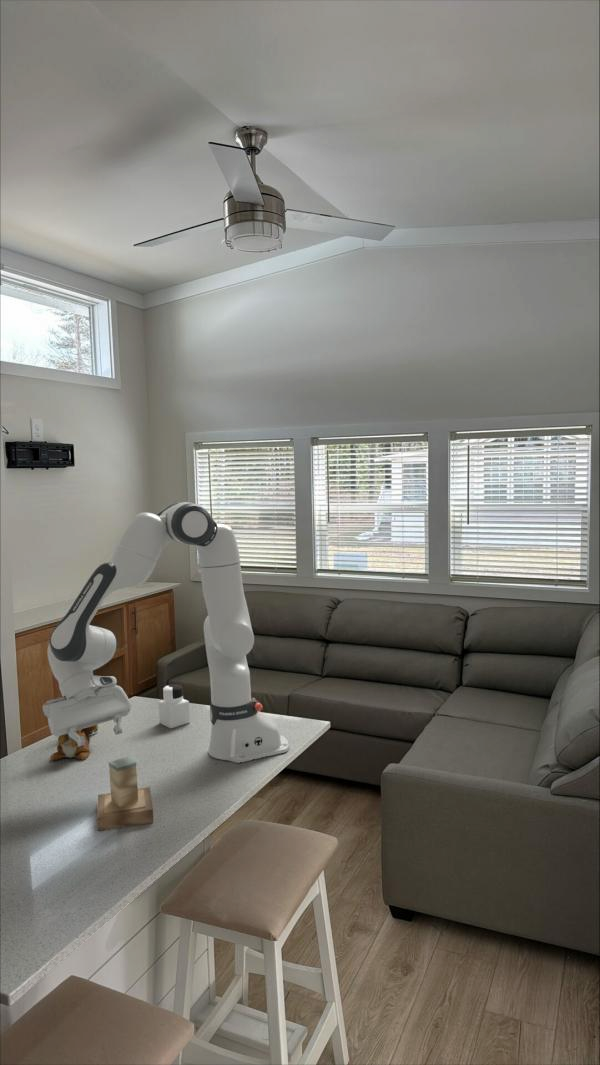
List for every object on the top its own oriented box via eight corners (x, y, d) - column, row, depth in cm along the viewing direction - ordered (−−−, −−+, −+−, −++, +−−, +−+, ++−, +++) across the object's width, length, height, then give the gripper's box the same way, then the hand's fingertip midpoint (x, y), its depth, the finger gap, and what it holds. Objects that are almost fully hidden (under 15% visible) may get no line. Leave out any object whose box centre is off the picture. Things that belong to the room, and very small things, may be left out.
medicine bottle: (179, 717, 228) (177, 681, 227) (190, 723, 222) (188, 685, 221) (159, 723, 223) (157, 686, 222) (170, 728, 218) (168, 690, 217)
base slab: (150, 799, 170) (149, 786, 170) (153, 822, 158) (152, 808, 158) (99, 807, 167) (98, 793, 167) (97, 831, 155) (96, 816, 155)
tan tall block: (129, 794, 166) (127, 756, 165) (138, 800, 162) (136, 762, 161) (111, 800, 163) (108, 762, 162) (120, 807, 159) (117, 768, 159)
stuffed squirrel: (48, 762, 196) (44, 716, 194) (71, 743, 209) (68, 699, 208) (82, 763, 194) (78, 716, 193) (103, 743, 208) (100, 699, 207)
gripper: (42, 695, 171) (62, 745, 164) (120, 675, 184) (141, 720, 177) (37, 709, 174) (56, 758, 168) (115, 688, 187) (135, 733, 181)
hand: (101, 738), depth 172 cm, fingers open, 8 cm apart
